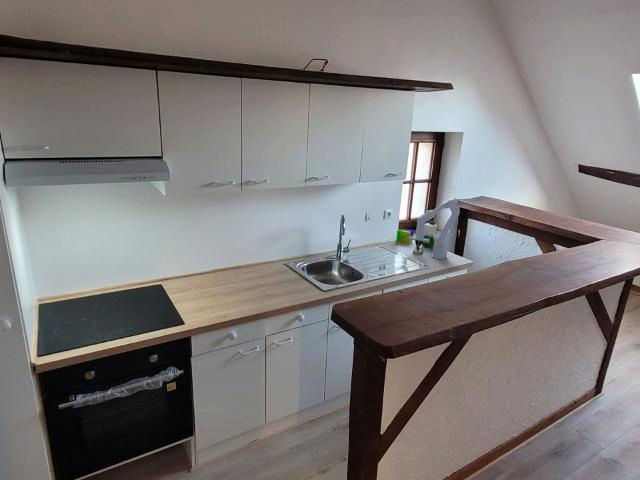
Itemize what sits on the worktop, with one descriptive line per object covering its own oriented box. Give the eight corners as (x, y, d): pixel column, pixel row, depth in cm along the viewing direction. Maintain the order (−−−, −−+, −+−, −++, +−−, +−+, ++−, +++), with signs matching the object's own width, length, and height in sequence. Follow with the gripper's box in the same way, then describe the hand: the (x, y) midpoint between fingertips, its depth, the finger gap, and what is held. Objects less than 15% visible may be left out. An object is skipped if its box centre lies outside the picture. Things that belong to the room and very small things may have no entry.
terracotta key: (421, 247, 312) (422, 246, 311) (416, 247, 313) (416, 245, 312) (422, 246, 315) (422, 244, 315) (417, 245, 317) (417, 243, 316)
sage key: (420, 253, 303) (420, 251, 302) (414, 252, 304) (414, 250, 303) (420, 251, 306) (420, 249, 306) (415, 250, 307) (415, 249, 307)
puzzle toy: (412, 241, 333) (413, 230, 330) (407, 244, 325) (409, 232, 322) (400, 239, 338) (401, 227, 335) (396, 242, 330) (397, 230, 327)
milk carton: (435, 246, 323) (438, 222, 317) (429, 249, 317) (432, 223, 311) (425, 244, 329) (429, 219, 323) (419, 246, 323) (422, 221, 317)
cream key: (421, 249, 307) (421, 247, 307) (415, 249, 308) (415, 247, 308) (421, 248, 311) (421, 246, 310) (416, 247, 312) (416, 245, 311)
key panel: (421, 255, 301) (421, 252, 301) (412, 253, 303) (413, 251, 302) (423, 248, 317) (423, 246, 316) (415, 247, 318) (415, 244, 318)
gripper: (430, 232, 302) (428, 250, 306) (410, 230, 307) (408, 247, 310) (429, 235, 296) (427, 252, 300) (409, 232, 300) (407, 249, 304)
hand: (417, 250), depth 305 cm, fingers closed, pressing on sage key
